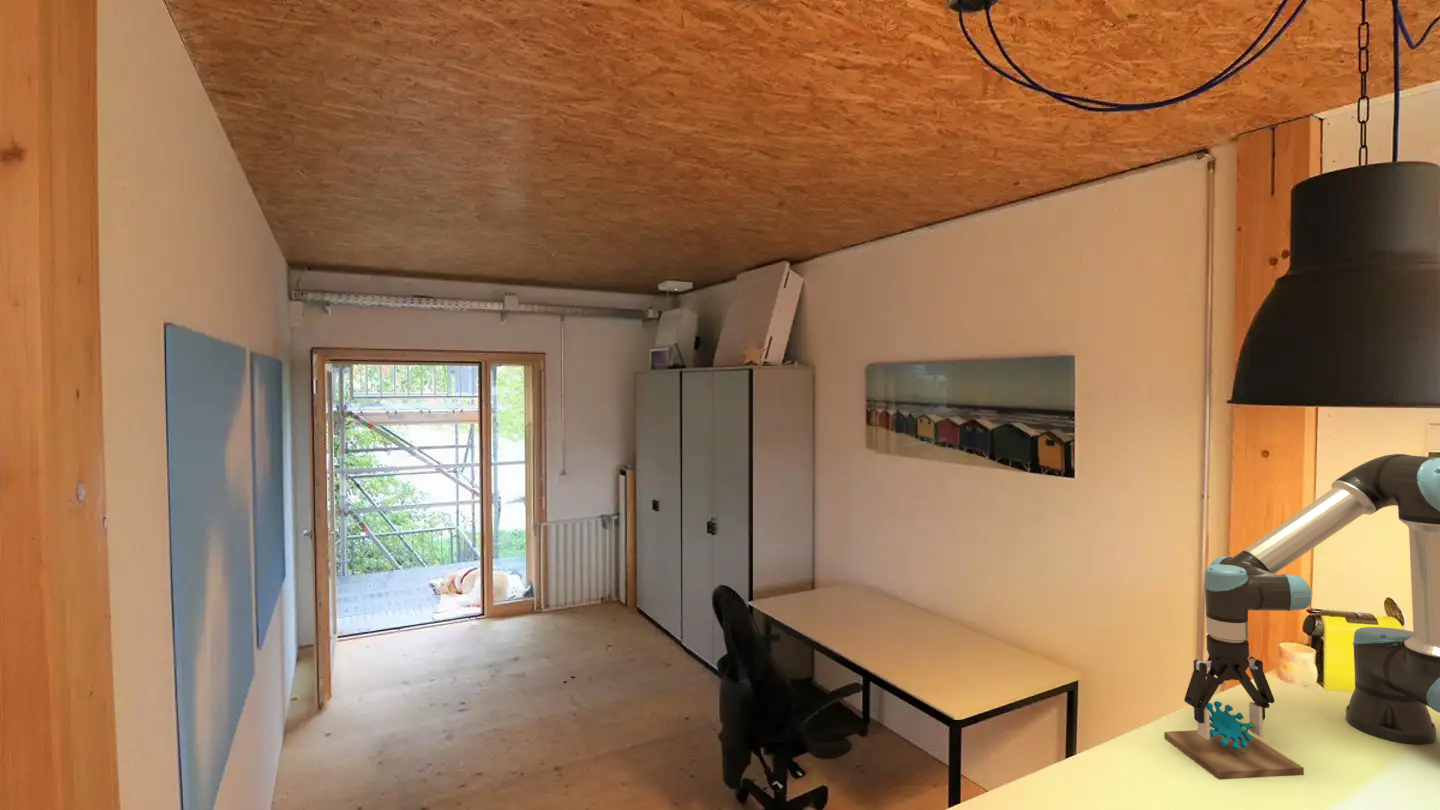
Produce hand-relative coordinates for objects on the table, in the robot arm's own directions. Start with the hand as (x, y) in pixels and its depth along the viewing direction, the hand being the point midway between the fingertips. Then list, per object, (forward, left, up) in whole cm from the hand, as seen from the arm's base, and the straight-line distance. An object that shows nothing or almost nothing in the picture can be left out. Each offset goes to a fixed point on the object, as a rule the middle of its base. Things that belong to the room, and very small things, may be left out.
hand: (1230, 735), depth 151 cm
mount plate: (0, 0, -4) cm, 4 cm away
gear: (0, 0, -2) cm, 2 cm away
